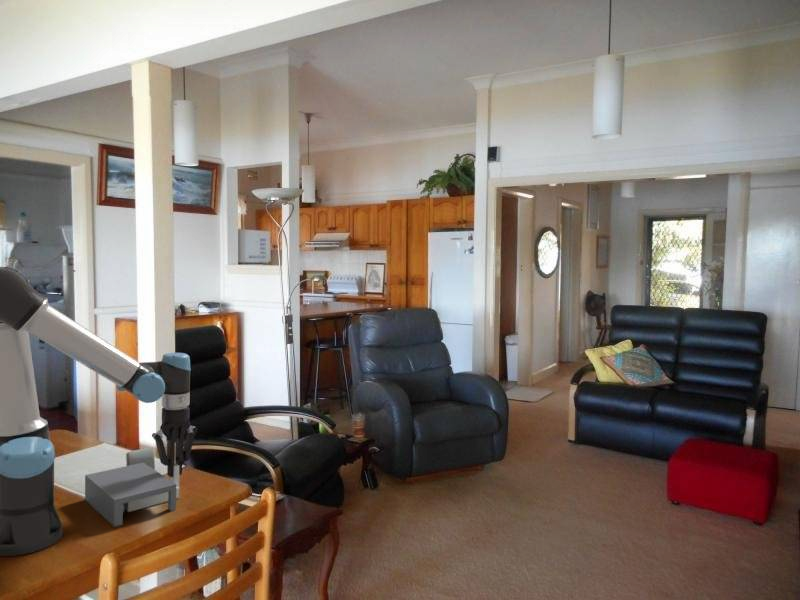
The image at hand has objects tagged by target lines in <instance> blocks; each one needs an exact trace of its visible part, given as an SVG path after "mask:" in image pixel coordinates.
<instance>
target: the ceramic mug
mask: <svg viewBox="0 0 800 600" xmlns="http://www.w3.org/2000/svg"><path fill="white" fill-rule="evenodd" d="M125 458H126V459H125V460H126V466H130V465H134V464H139V463H145V464H146V465H148V466H149V467H151V468H152V469H154V470H155V471H156V465H155V463H156V462H155V459H156V458H155V449H154V447H153V446H152V447H146V448H141V449H135V450H130V451H128V452H126V455H125Z"/></svg>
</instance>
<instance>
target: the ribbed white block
mask: <svg viewBox="0 0 800 600" xmlns="http://www.w3.org/2000/svg"><path fill="white" fill-rule="evenodd" d="M177 498H178V499H180V487H177V486H176V500H178V499H177ZM166 502H167V503H168V492H166V493H162V494H158V495H154V496H150V497H147V498H143V499H139V500H135V501H131V502H127V503H123V504H124V511H126V512H128V513H129V512H130V513H131V512H134V511H137V510H140V509H145V508H148V507H152V506H156V505H159V504H164V503H166Z"/></svg>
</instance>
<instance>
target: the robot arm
mask: <svg viewBox="0 0 800 600" xmlns="http://www.w3.org/2000/svg"><path fill="white" fill-rule="evenodd" d="M29 333H30V334H31V335H33V336H34V337H36V338H37V339H39V340H41V341H43V342H45V344H47V345H50V346H51V347H53V348H54V349H56V350H58V351H59V352H61V353H63V354H65V355H66V356H68V357H69V358H71V359H73V360H75V361H76V362H78V363H79V364H81V365H82V366H85V367H86V368H88V369H90V370H91V371H93V372H95V373H96V374H98V375H100V376H101V377H103V378H105V379H107V380H108V381H110V382H112V383H113V384H114V385H115V388H116V390H117V391H118V392H128V393H129V394H131V395H133V396H134V397H135V399H136V400H138V401H140V402H142V403H144V404H150V403H155V402H157V401H158V400H160V399H161V407H162V408H161V425H160V427H159V430H158V431H156V432H153V433H152V434H151V437H152V438H153V440H154V441H155V445H156V448H157V451H158V452H157V453H158V457H159V461H160V463H161V464H162V465H163V466H167V467H166V468H167V470H166V471H167V473H166V474H167V477H169V480H171V481H172V482H174V483H175V484H176V486H177V487H178V488H180V475H182V474H183V466H184V464H185V462H188V461H189V460H190V456H191V454H192V453H191V452H192V448H193V445H194V444H193V443H194V439H195V436H196V434H197V432H198V431H199V430H198V427H196V426H194V425H191V422H190V412H191V411H190V406H189V405H190V403H191V402H190V396H191V395H190V393H191V391H190V390H191V387H190V386H191V385H190V383H191V371H192V370H191V359H190V355H188V354H187V353H184V352H168V353H164V354H163V355H162V358H161V360H160V361H149V362H148V361H145V362H139V361H138V360H137V359H134V358H133V357H131V356H130V355H128V354H127V353H126V352H123V351H122V350H121V349H119V348H118V347H116V346H114V345H113V344H112V343H109V342H108V341H107V340H104V338H102V337H100V336H98V335H97V334H95V333H94V332H92V331H90V330H89V329H87V328H86V327H84V326H83V325H81V324H79V323H78V322H77V321H75V320H73V319H72V318H71V317H68V316H67V315H66V314H64V313H62V312H61V311H60V310H58V309H56V308H54V307H53V306H52V305H50V304H49V300H48V297H46V296H44V295H43V294H41V293H39V291H37V290H35V288H34V287H32V286H31V285H30V282H29V281H28V279H27V277H26V276H25V275H24V274H23V273H22V272H20V271H19V270H18V269H16V268H13V267H9V266H0V557H15V556H16V557H17V556H22V555H27V554H31V553H35V552H38V551H41V550H44V549H46V548H49V547H51V546H53V545H54V544H55V543H57V542H58V541H59V540H61V538H62V537H63V523H62V521H61V519H60V516H59V513H58V511H57V508H56V506H55V459H56V452H55V447H54V444H53V443H52V441H51V436H50V435H51V434H50V429H49V423H48V420H47V419H44V418H43V417H42V416H41V414H40V413H41V412H40V409H39V408H40V406H39V400H38V393H37V385H36V378H35V372H34V364H33V358H32V357H33V356H32V350H31V343H30V342H31V341H30V335H29ZM186 433H187V434H186ZM185 435H186V437H185ZM164 437H165V438H166V447H165V443H164V441H163V438H164Z"/></svg>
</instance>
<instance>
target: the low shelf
mask: <svg viewBox="0 0 800 600" xmlns="http://www.w3.org/2000/svg"><path fill="white" fill-rule="evenodd" d="M84 479H85V481H84V483H85V484H84V500H85V501H86V502H87V503H88V504H89V505H90V506H91V507H92V508H94V510H95V511H97V513H99V514H100V515H101V516H102V517H103V518H104V519H105V521H108V523H110V525H112V527H114V528H116V527H120V526H122V525H124V521H123V520H124V519H123V517H124V516H123V515H124V514H123V513H124V512H123V503H127V502H131V501H135V500H139V499H143V498H147V497H150V496H154V495H158V494H162V493H166V492H168V501H167V504H168V505H167V506H168V507H167V509H168V510H169V511H170V512H172V511H176V510H177V499H176V484H175V483H174V482H172V481H171V480H170V478H167V477H166V476H164V475H163V474H161V473H160V472H158V471H157V470H156V469H155V470H154V469H152V468H151V467H149V466H148V465H146V464H145V463H139V464H134V465H130V466H127V465H125V466H121V467H116V468H111V469H108V470H102V471H98V472H93V473H89V474H85V475H84ZM175 509H176V510H175Z"/></svg>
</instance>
